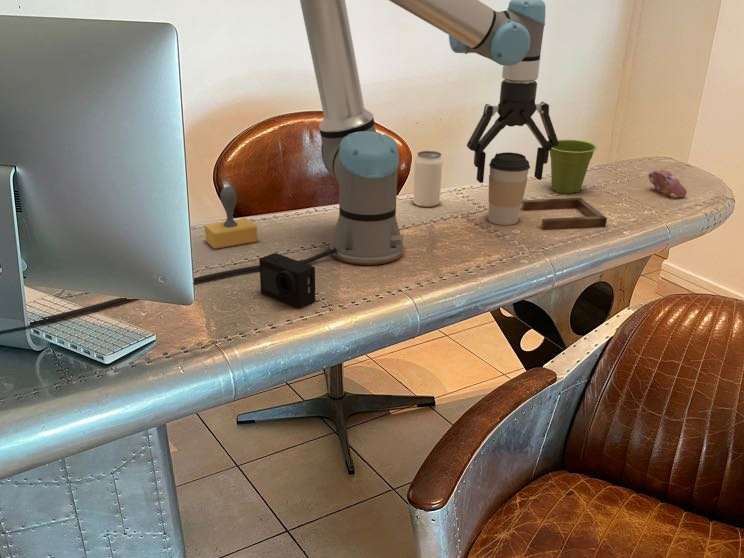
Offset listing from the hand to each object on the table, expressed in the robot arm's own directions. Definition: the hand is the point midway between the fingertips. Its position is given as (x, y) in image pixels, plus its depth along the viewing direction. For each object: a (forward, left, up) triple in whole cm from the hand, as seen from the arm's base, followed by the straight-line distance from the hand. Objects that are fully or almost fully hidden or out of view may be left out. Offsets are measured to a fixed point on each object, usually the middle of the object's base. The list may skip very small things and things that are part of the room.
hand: (508, 179), depth 183 cm
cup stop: (+14, 0, -9) cm, 17 cm away
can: (-15, +14, -10) cm, 23 cm away
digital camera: (-54, -37, -10) cm, 66 cm away
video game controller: (+47, +14, -10) cm, 50 cm away
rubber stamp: (-63, -6, -10) cm, 64 cm away
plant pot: (+23, +20, -10) cm, 32 cm away
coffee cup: (0, 0, -10) cm, 10 cm away
